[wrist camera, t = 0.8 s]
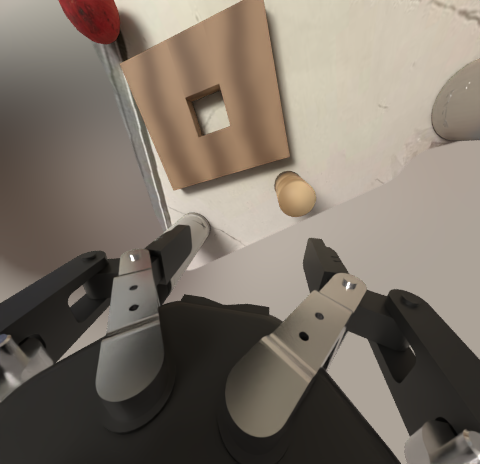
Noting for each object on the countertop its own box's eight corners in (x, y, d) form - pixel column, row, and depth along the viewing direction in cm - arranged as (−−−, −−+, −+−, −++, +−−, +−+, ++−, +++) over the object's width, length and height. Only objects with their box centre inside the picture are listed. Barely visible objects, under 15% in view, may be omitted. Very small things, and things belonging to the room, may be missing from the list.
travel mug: (210, 212, 35) (152, 279, 17) (210, 242, 38) (161, 326, 20) (179, 209, 36) (91, 271, 18) (182, 238, 39) (108, 318, 21)
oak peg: (296, 166, 30) (314, 176, 19) (300, 190, 31) (318, 213, 21) (271, 173, 31) (274, 186, 20) (276, 196, 32) (281, 221, 22)
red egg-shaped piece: (141, 43, 26) (92, 3, 19) (109, 62, 27) (53, 30, 20) (118, -13, 24) (54, -83, 16) (86, 10, 25) (13, -46, 18)
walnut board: (262, 6, 23) (261, -10, 20) (287, 156, 29) (289, 156, 27) (131, 70, 27) (119, 63, 25) (179, 187, 34) (173, 190, 32)
